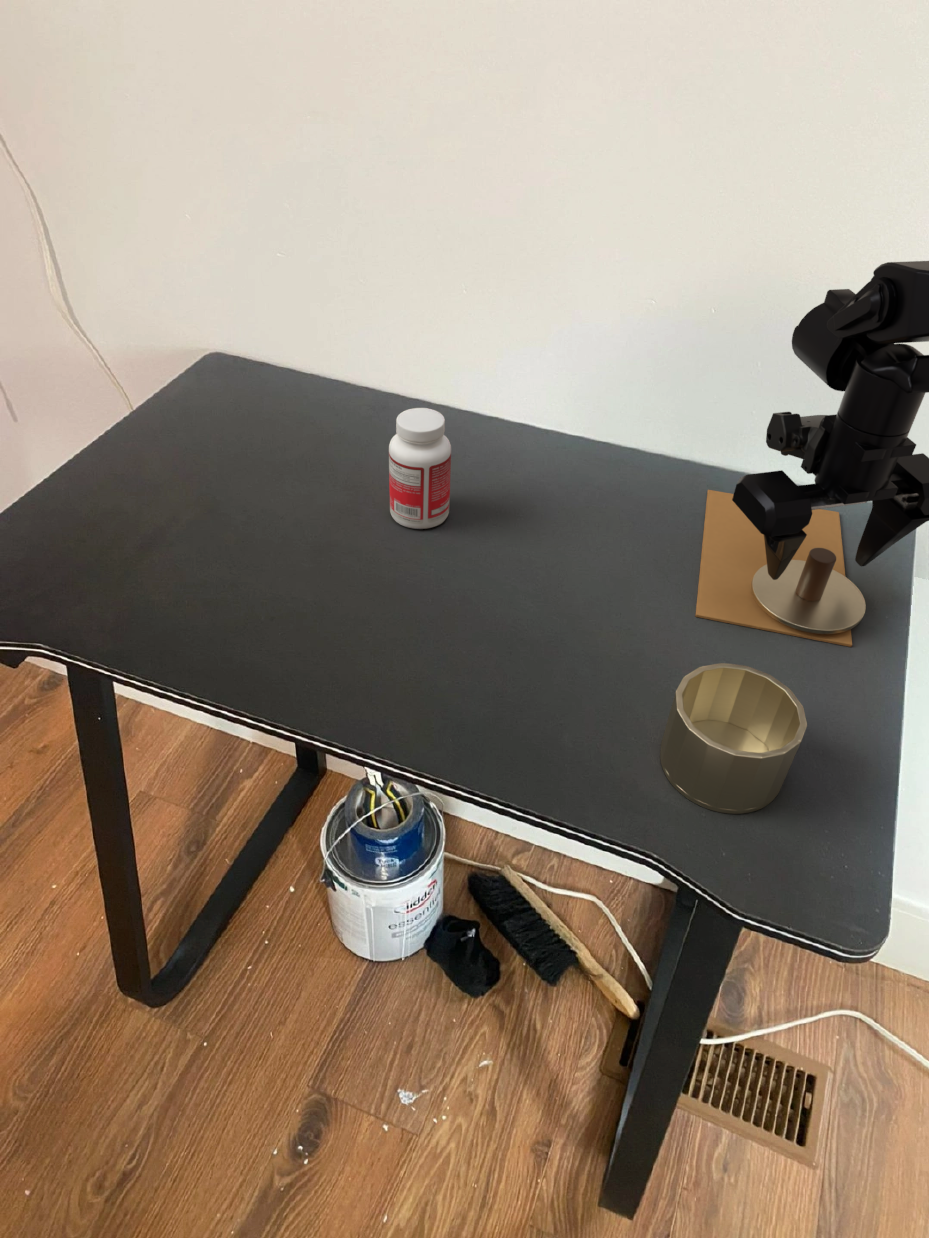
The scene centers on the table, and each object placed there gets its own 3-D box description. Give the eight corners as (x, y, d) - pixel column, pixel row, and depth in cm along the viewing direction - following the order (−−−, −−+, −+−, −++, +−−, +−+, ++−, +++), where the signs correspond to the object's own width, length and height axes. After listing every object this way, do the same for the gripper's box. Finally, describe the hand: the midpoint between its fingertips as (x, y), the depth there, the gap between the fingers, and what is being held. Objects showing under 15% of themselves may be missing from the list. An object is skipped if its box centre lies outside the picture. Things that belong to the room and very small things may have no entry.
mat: (838, 514, 99) (839, 512, 99) (851, 647, 83) (852, 644, 83) (707, 491, 101) (708, 489, 101) (695, 616, 85) (695, 614, 85)
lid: (822, 562, 92) (840, 516, 88) (884, 629, 85) (906, 582, 81) (729, 576, 90) (744, 529, 86) (785, 647, 82) (803, 599, 78)
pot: (744, 711, 76) (764, 655, 72) (805, 800, 70) (831, 743, 65) (640, 731, 74) (655, 674, 70) (693, 825, 67) (712, 768, 63)
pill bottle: (443, 495, 98) (446, 402, 91) (454, 528, 94) (458, 433, 87) (385, 499, 97) (384, 405, 90) (393, 533, 93) (393, 437, 85)
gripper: (910, 365, 82) (853, 509, 93) (724, 382, 78) (686, 532, 88) (995, 426, 74) (922, 577, 85) (793, 450, 70) (742, 605, 80)
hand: (816, 570), depth 85 cm, fingers open, 9 cm apart
